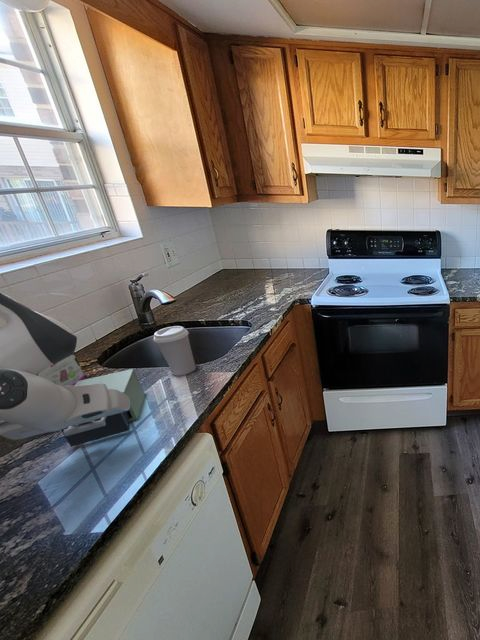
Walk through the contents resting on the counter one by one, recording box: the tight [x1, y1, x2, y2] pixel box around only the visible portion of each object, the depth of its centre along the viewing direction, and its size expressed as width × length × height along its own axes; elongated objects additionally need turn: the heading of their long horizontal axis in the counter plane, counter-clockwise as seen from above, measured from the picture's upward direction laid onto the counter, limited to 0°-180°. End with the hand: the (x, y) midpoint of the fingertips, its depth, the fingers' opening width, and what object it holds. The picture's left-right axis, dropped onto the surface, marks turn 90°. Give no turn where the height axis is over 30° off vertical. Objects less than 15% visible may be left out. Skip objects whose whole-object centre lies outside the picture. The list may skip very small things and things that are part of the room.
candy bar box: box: [37, 353, 88, 386], centre depth 104 cm, size 11×5×16 cm, turn 0°
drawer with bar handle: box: [60, 410, 131, 448], centre depth 94 cm, size 18×11×7 cm, turn 31°
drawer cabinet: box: [75, 368, 146, 423], centre depth 101 cm, size 15×13×9 cm
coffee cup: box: [152, 325, 197, 376], centre depth 121 cm, size 10×10×15 cm
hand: (86, 421), depth 87 cm, fingers closed, pressing on drawer with bar handle
